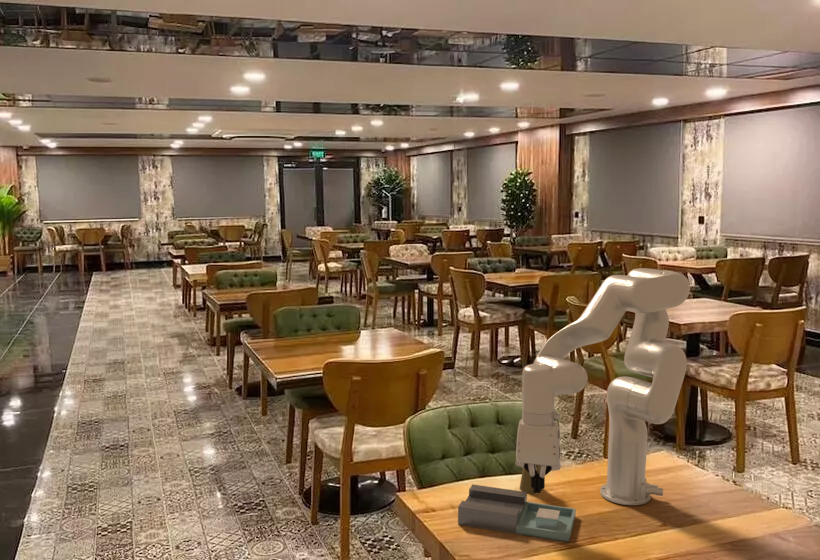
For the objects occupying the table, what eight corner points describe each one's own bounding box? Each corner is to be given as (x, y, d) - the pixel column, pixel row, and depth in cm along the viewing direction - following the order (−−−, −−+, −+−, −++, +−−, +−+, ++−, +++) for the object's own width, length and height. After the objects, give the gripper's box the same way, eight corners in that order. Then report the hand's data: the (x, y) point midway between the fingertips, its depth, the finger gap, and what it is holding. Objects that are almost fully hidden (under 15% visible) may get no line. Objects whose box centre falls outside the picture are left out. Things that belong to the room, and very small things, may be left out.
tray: (575, 516, 178) (575, 508, 178) (568, 542, 165) (569, 534, 165) (526, 509, 182) (526, 501, 182) (516, 533, 169) (516, 525, 168)
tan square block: (539, 507, 176) (538, 517, 176) (536, 516, 171) (535, 526, 172) (559, 510, 174) (559, 520, 175) (557, 519, 170) (557, 529, 170)
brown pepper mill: (542, 494, 191) (543, 454, 189) (519, 492, 192) (520, 452, 191) (542, 485, 197) (544, 446, 195) (520, 483, 198) (521, 444, 197)
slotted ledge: (526, 509, 182) (527, 492, 181) (516, 533, 169) (516, 515, 168) (472, 501, 186) (472, 484, 186) (457, 524, 173) (458, 506, 172)
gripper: (572, 414, 172) (571, 488, 175) (509, 409, 177) (509, 481, 180) (568, 425, 165) (567, 501, 168) (503, 419, 170) (503, 493, 173)
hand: (537, 490), depth 174 cm, fingers closed
